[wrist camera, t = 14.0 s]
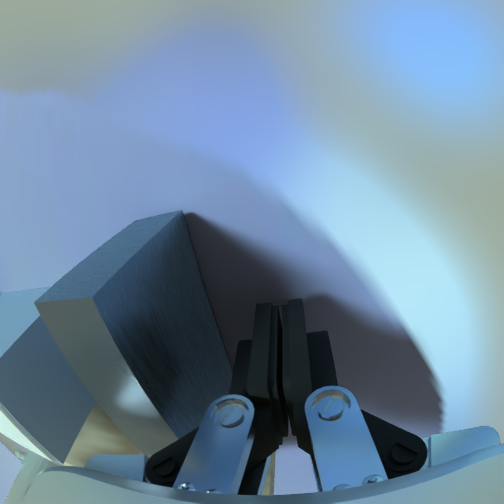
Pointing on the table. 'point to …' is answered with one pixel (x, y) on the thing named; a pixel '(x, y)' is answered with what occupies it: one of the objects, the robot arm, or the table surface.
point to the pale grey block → (37, 382)
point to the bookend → (142, 332)
